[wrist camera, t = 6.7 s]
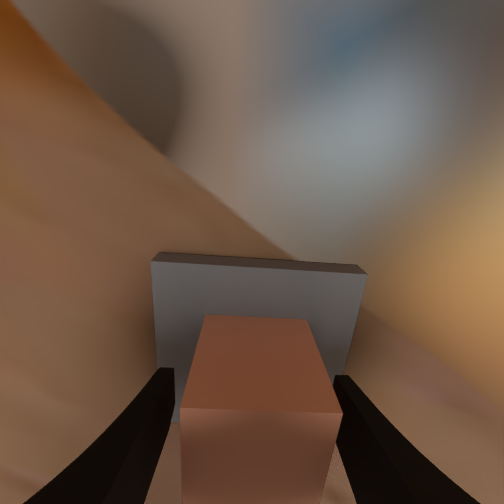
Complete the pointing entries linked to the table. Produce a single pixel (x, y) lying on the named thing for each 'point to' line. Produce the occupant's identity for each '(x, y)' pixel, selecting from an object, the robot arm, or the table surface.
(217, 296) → the slate tile
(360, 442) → the robot arm
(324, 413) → the clay cube
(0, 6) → the table surface
